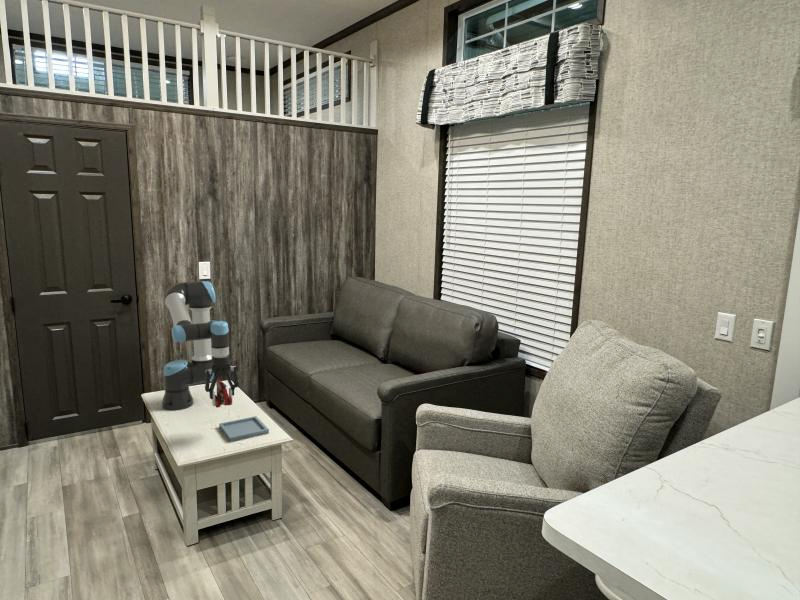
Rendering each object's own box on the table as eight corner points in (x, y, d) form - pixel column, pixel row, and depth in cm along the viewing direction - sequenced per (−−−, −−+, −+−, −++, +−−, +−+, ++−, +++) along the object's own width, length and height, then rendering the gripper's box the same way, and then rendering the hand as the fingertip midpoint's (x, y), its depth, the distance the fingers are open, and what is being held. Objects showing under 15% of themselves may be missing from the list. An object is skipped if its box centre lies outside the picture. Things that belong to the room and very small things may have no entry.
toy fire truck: (218, 410, 239) (217, 388, 238) (210, 401, 249) (209, 380, 247) (234, 407, 243) (233, 385, 241) (225, 398, 253) (225, 377, 251)
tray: (219, 427, 255) (219, 423, 255) (256, 419, 265) (256, 416, 265) (230, 442, 241) (230, 437, 240) (268, 433, 251) (268, 429, 250)
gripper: (199, 360, 234) (201, 410, 238) (244, 354, 244) (246, 402, 248) (195, 356, 240) (198, 404, 244) (240, 350, 250) (241, 397, 254)
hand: (222, 403), depth 246 cm, fingers closed on toy fire truck, 7 cm apart
